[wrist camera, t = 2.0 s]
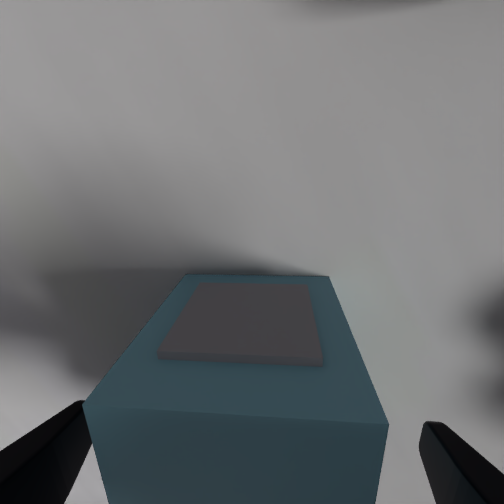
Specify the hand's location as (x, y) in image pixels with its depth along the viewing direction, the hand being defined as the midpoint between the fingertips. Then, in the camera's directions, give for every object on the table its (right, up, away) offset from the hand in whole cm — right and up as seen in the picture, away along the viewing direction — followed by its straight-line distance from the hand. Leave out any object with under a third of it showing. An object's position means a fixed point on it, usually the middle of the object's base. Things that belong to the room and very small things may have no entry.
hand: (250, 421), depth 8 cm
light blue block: (0, +1, +3) cm, 3 cm away
